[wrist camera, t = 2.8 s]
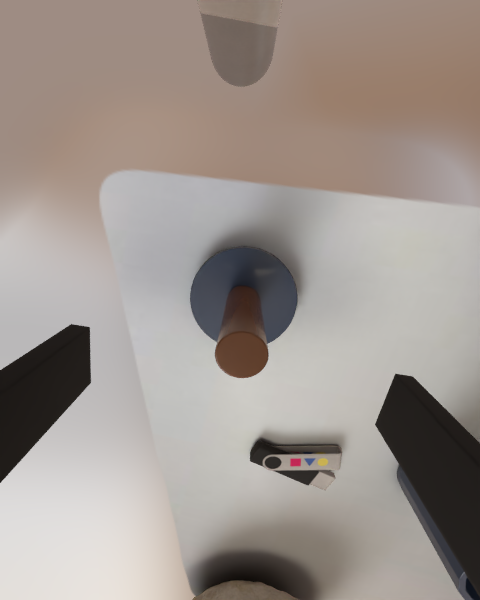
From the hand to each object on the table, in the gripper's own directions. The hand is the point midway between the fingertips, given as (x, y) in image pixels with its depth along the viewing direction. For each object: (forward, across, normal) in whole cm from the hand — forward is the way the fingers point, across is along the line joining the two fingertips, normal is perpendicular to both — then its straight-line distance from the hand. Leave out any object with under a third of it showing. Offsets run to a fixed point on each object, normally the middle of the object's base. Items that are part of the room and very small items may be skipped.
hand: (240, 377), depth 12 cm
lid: (+10, 0, 0) cm, 10 cm away
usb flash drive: (+11, +8, -15) cm, 20 cm away
